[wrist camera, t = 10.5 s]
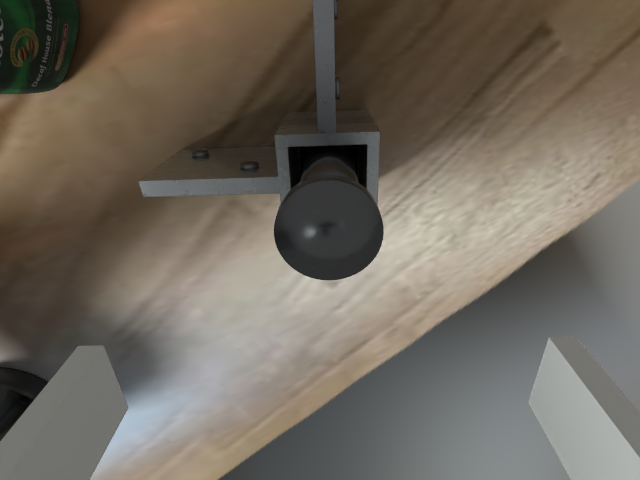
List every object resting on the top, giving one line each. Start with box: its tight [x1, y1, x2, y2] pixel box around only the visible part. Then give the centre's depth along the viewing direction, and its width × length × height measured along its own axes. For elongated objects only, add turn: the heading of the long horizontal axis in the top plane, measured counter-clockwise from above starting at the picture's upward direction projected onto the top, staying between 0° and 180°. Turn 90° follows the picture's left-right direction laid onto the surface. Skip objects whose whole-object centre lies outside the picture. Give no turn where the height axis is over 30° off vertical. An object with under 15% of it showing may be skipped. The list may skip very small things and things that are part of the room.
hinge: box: [139, 0, 380, 204], centre depth 29 cm, size 17×17×9 cm
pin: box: [274, 145, 383, 280], centre depth 27 cm, size 6×6×17 cm
